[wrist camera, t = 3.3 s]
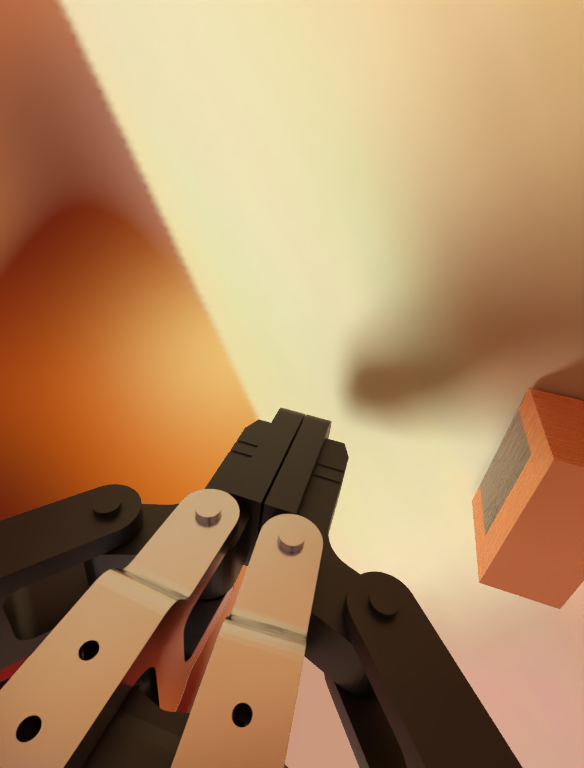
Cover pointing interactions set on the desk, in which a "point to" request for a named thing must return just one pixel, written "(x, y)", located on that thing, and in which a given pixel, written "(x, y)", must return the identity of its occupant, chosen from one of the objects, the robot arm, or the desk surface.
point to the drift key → (535, 503)
